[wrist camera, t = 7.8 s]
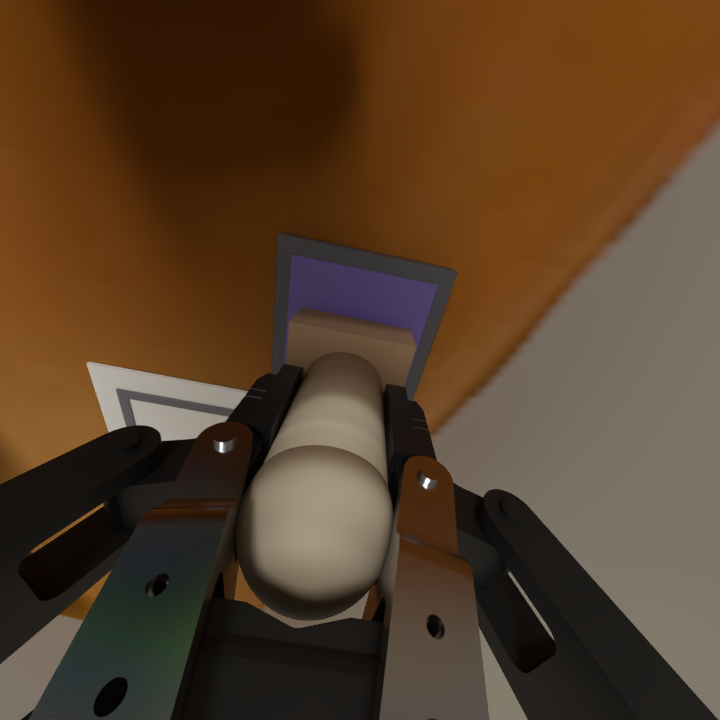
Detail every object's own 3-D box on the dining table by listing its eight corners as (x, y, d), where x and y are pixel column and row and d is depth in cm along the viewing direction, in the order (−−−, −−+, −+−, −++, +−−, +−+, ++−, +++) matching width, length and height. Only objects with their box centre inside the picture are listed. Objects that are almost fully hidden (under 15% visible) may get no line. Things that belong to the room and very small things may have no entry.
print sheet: (89, 361, 16) (84, 363, 16) (268, 394, 17) (266, 397, 16) (127, 480, 21) (123, 483, 21) (264, 503, 22) (262, 506, 21)
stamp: (302, 306, 12) (129, 503, 4) (410, 328, 12) (491, 563, 4) (293, 396, 14) (175, 645, 6) (384, 413, 14) (398, 677, 6)
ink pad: (285, 232, 12) (276, 233, 11) (450, 268, 13) (458, 272, 12) (276, 402, 17) (268, 416, 16) (397, 425, 17) (399, 439, 16)
